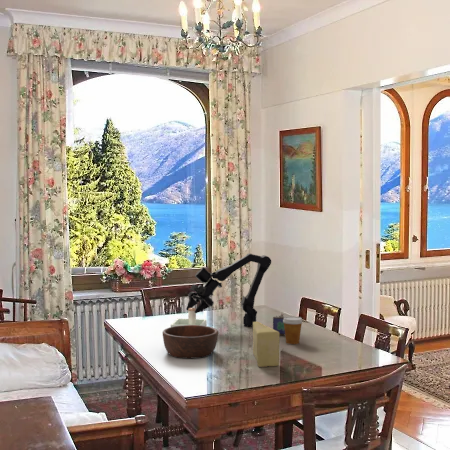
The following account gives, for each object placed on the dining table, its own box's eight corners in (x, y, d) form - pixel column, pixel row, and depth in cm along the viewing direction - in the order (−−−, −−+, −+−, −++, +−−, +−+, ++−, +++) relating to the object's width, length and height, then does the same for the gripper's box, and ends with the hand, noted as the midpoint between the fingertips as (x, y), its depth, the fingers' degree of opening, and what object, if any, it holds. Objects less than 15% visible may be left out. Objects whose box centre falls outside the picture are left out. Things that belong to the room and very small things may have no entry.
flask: (290, 333, 322) (291, 313, 322) (291, 335, 319) (291, 314, 319) (272, 333, 323) (272, 312, 322) (273, 334, 320) (273, 314, 319)
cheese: (244, 354, 283) (244, 321, 282) (264, 352, 285) (265, 320, 284) (257, 367, 261) (257, 332, 260) (279, 366, 263) (280, 330, 263)
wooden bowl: (175, 363, 267) (175, 339, 267) (154, 350, 289) (154, 328, 289) (227, 356, 279) (227, 333, 278) (203, 344, 301) (203, 322, 300)
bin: (206, 326, 338) (206, 319, 338) (201, 333, 322) (201, 325, 322) (177, 325, 340) (177, 318, 340) (170, 332, 324) (170, 324, 324)
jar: (197, 327, 332) (197, 308, 331) (192, 328, 329) (192, 309, 328) (192, 326, 335) (191, 307, 334) (186, 327, 332) (186, 308, 331)
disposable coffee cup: (305, 341, 306) (305, 317, 305) (298, 346, 297) (299, 320, 296) (286, 339, 310) (286, 315, 309) (279, 343, 301) (280, 319, 300)
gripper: (191, 276, 341) (173, 298, 336) (208, 281, 325) (189, 304, 320) (203, 290, 345) (186, 312, 340) (221, 294, 330) (203, 318, 324)
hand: (190, 311), depth 331 cm, fingers open, 9 cm apart
